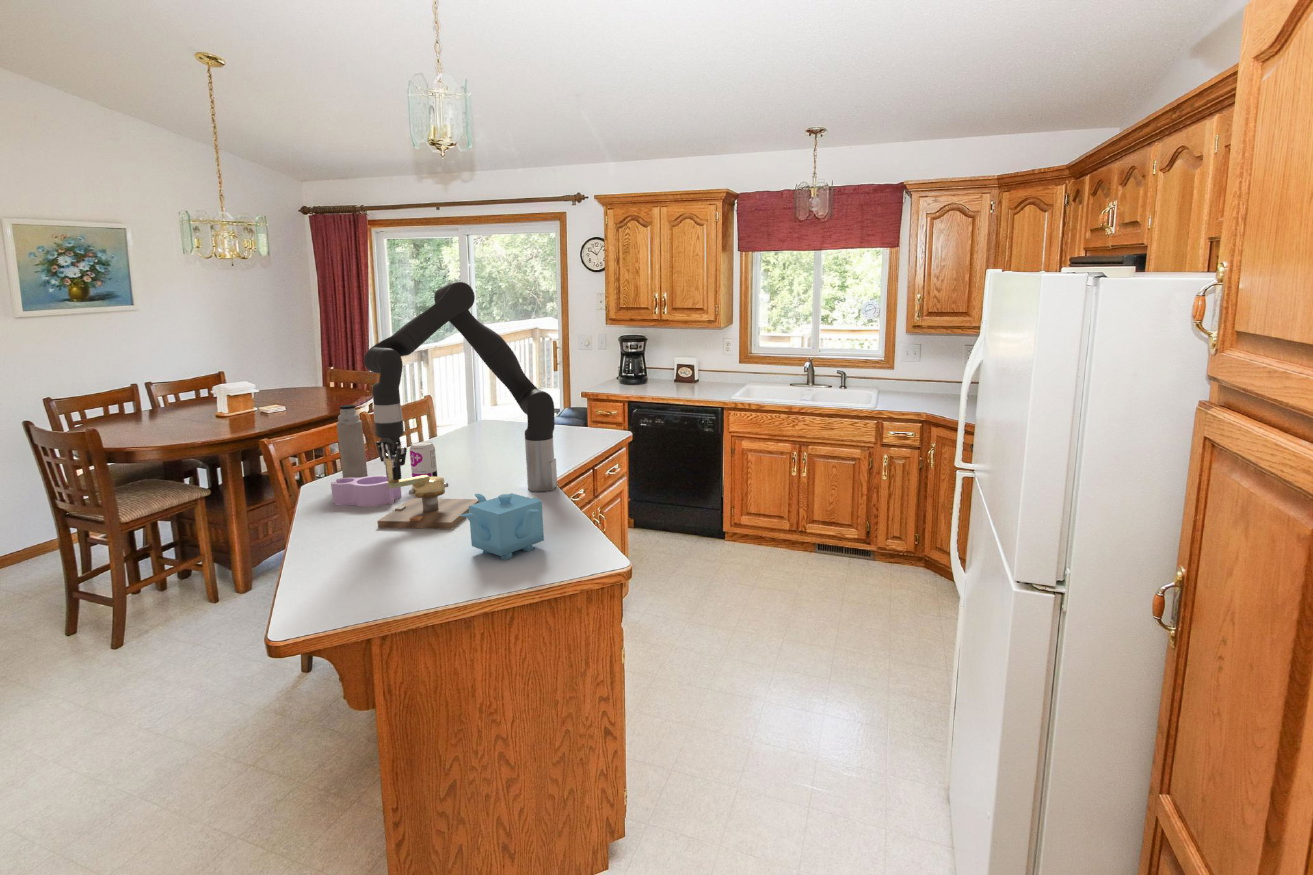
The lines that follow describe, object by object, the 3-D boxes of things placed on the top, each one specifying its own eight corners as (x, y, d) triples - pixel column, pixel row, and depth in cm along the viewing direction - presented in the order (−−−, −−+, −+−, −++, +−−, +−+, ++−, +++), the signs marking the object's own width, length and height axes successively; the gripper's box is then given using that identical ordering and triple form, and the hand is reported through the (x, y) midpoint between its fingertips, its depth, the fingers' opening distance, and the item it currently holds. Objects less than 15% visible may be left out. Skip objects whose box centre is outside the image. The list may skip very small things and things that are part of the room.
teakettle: (545, 536, 194) (542, 483, 191) (542, 561, 176) (539, 504, 173) (474, 540, 192) (470, 487, 189) (464, 566, 174) (459, 508, 171)
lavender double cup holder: (327, 507, 224) (324, 486, 222) (344, 496, 236) (342, 475, 234) (390, 506, 224) (388, 485, 222) (404, 495, 236) (402, 474, 234)
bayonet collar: (441, 486, 218) (438, 446, 216) (454, 492, 211) (450, 451, 209) (385, 498, 208) (380, 456, 205) (396, 504, 201) (391, 461, 198)
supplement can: (422, 491, 239) (418, 447, 236) (408, 487, 244) (404, 444, 241) (443, 485, 246) (439, 443, 242) (428, 481, 250) (424, 440, 247)
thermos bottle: (351, 481, 253) (342, 403, 247) (372, 481, 253) (364, 403, 247) (339, 487, 246) (329, 407, 240) (361, 487, 245) (352, 407, 239)
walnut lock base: (480, 505, 222) (478, 484, 221) (451, 529, 201) (449, 506, 199) (413, 504, 225) (411, 483, 223) (378, 527, 203) (375, 505, 202)
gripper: (413, 420, 198) (418, 480, 202) (388, 414, 207) (394, 471, 211) (388, 424, 193) (393, 486, 197) (363, 417, 202) (369, 476, 206)
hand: (394, 478), depth 204 cm, fingers closed on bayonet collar, 3 cm apart
